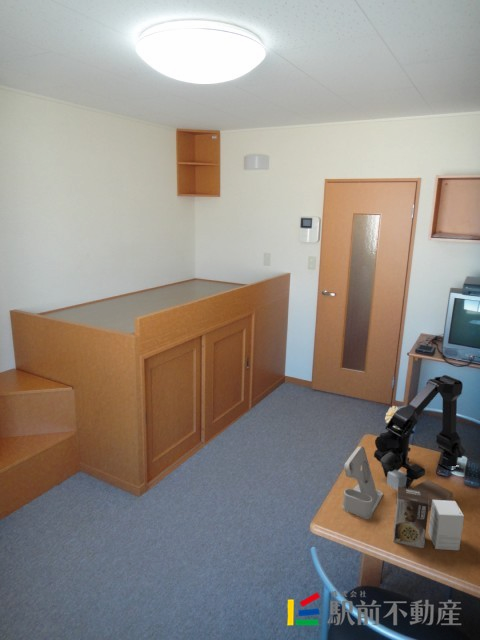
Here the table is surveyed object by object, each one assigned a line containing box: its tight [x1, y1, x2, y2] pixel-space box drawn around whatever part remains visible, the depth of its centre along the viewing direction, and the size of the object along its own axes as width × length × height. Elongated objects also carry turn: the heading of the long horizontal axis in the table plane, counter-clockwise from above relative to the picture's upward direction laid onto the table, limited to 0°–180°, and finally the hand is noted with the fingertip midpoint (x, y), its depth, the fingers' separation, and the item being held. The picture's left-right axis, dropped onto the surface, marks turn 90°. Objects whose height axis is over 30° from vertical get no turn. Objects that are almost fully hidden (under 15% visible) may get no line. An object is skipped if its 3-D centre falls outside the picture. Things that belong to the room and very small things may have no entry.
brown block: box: [411, 478, 454, 508], centre depth 163 cm, size 10×10×3 cm
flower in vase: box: [384, 405, 400, 429], centre depth 184 cm, size 13×11×25 cm
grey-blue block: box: [386, 469, 407, 491], centre depth 170 cm, size 5×5×5 cm
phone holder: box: [341, 446, 384, 520], centre depth 158 cm, size 17×10×18 cm, turn 147°
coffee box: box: [393, 487, 430, 549], centre depth 141 cm, size 9×6×16 cm
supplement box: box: [427, 500, 465, 551], centre depth 140 cm, size 7×7×13 cm
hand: (396, 482), depth 170 cm, fingers open, 9 cm apart
